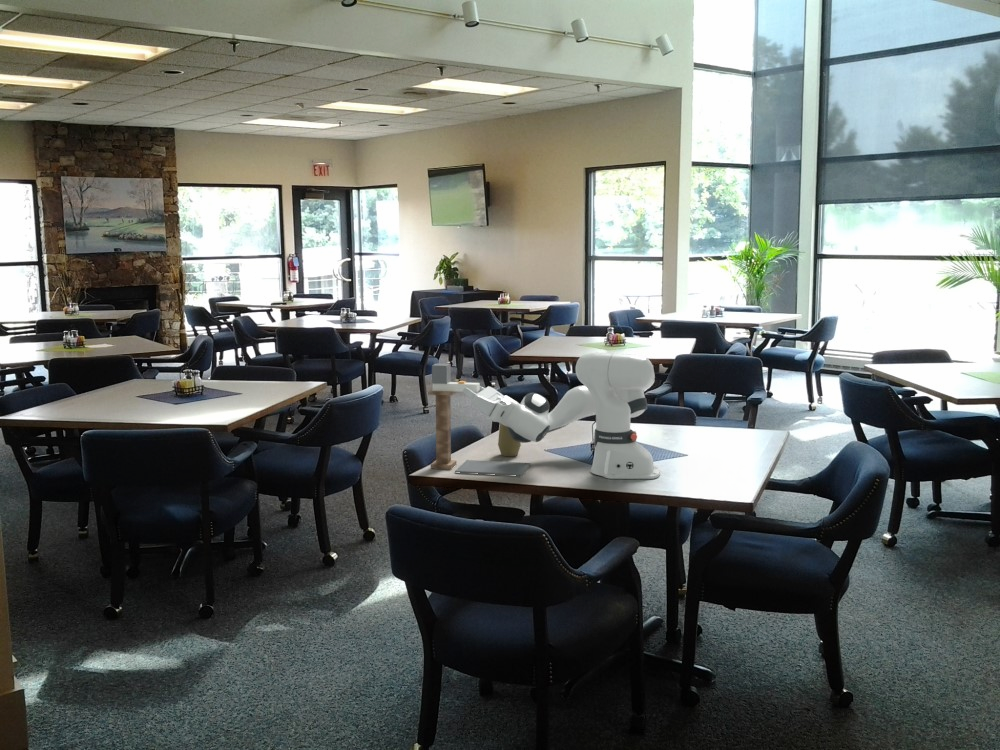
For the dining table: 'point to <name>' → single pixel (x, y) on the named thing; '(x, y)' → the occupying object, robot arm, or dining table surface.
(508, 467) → the grey flat rectangular slab
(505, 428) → the squeeze bottle
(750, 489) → the dining table surface
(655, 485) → the dining table surface
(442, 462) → the walnut stand
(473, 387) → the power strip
